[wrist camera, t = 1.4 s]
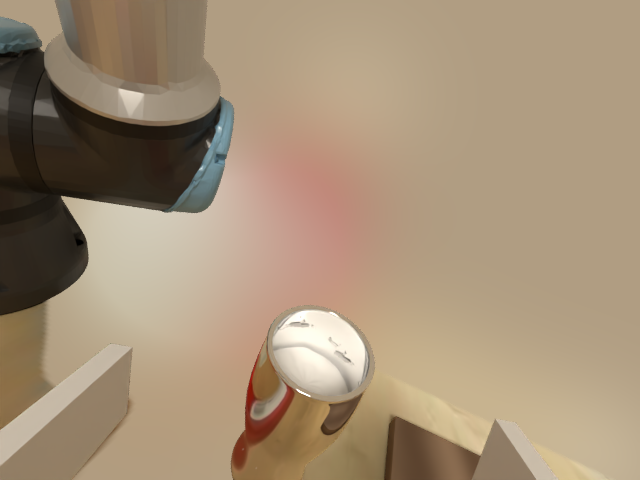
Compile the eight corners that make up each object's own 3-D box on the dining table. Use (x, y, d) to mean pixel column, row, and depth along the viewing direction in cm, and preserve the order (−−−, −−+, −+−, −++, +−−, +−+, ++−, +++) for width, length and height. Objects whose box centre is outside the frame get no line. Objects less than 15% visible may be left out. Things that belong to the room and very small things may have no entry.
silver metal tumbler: (258, 402, 30) (300, 287, 22) (322, 447, 28) (391, 340, 20) (205, 476, 24) (236, 353, 16) (281, 538, 22) (355, 435, 15)
